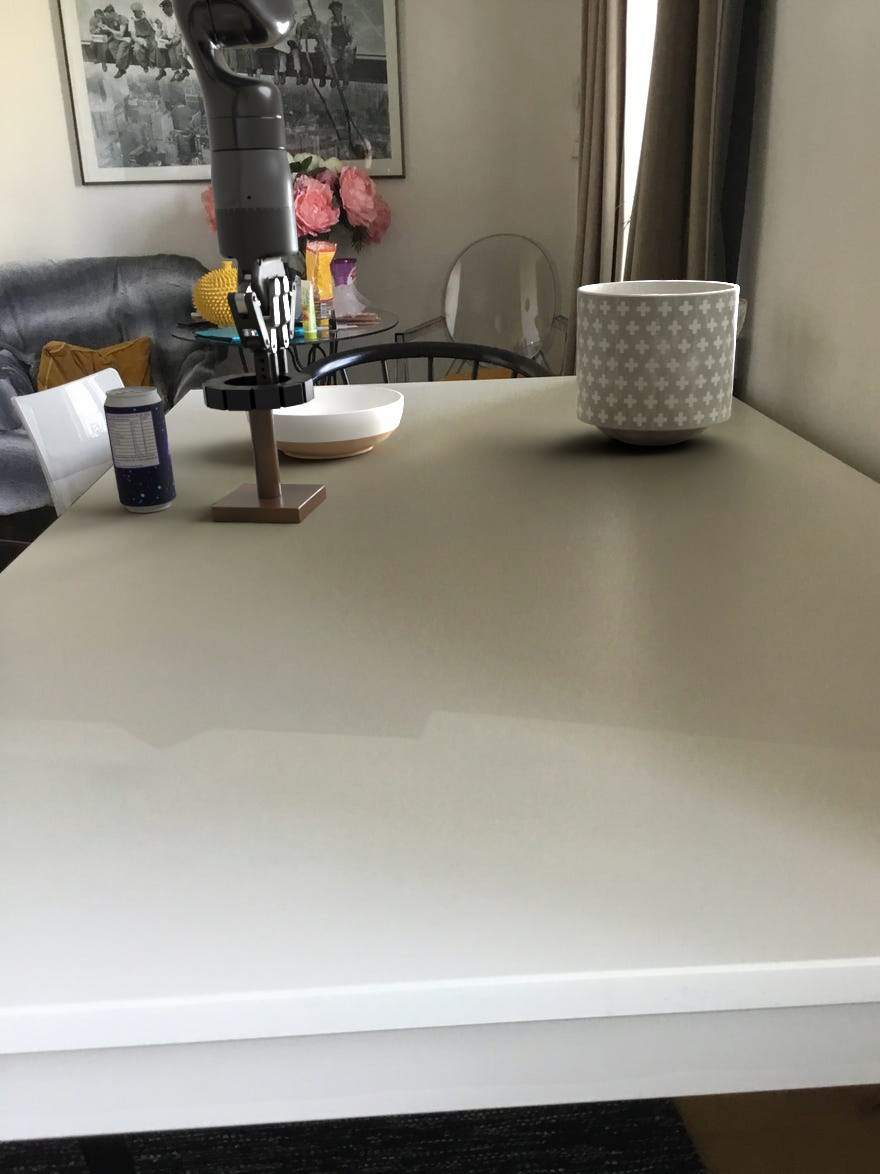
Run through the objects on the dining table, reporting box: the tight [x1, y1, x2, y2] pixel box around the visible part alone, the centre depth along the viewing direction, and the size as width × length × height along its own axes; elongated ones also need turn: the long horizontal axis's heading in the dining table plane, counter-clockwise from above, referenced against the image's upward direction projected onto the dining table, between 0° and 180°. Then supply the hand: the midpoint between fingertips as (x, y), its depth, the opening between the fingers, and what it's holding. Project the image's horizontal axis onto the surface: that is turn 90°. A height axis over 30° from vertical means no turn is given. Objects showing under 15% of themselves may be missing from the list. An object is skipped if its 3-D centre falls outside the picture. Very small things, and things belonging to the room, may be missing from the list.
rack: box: [210, 409, 327, 524], centre depth 105 cm, size 9×9×12 cm
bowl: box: [245, 385, 404, 460], centre depth 131 cm, size 20×20×6 cm
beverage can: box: [103, 385, 177, 514], centre depth 107 cm, size 6×6×12 cm
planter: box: [575, 280, 740, 447], centre depth 129 cm, size 19×19×18 cm
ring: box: [201, 371, 315, 412], centre depth 103 cm, size 10×10×2 cm
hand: (273, 387), depth 107 cm, fingers closed on ring, 2 cm apart
